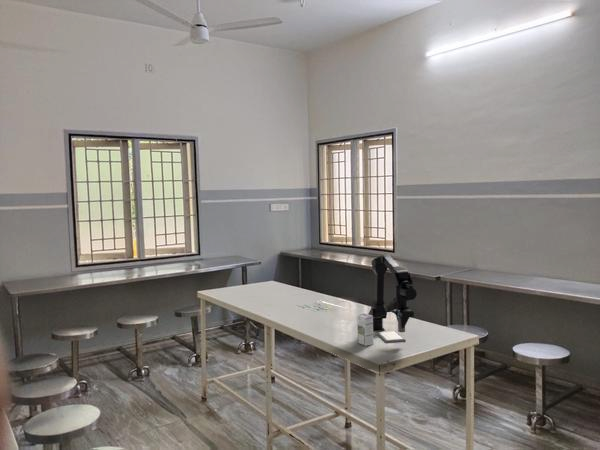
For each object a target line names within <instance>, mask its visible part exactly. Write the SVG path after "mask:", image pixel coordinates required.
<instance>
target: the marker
mask: <svg viewBox="0 0 600 450" xmlns="http://www.w3.org/2000/svg"><path fill="white" fill-rule="evenodd" d="M398 315H399V312H398ZM398 332H399V333H406V326H405V327H404V328H402V327H401V321H400V317H399V316H398V321H397V333H398Z"/></svg>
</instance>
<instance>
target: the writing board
mask: <svg viewBox="0 0 600 450" xmlns="http://www.w3.org/2000/svg"><path fill="white" fill-rule="evenodd" d="M376 334H377V336H378V337H379V338H380V339H381V340H382V341H384V342H385V343H387V344H388V343H390V344H391V343H401V342H406V338H404V337H403V336H402V335H401V334H400V333H398V331H394V330H393V331H383V332H382V331H378V332H377V333H376Z"/></svg>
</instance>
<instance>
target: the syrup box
mask: <svg viewBox="0 0 600 450" xmlns="http://www.w3.org/2000/svg"><path fill="white" fill-rule="evenodd" d="M356 319H357V324H356V325H357V344H358V345H362V346H364V347H367V346H370V345H371V346H372V345H374V331H373V316H372V315H368V313H361V314H358V315H357V317H356Z"/></svg>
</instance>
